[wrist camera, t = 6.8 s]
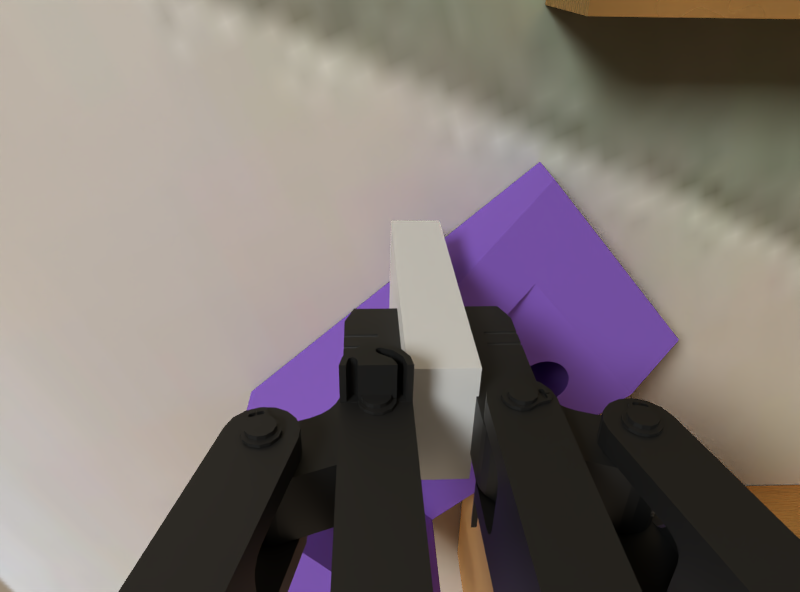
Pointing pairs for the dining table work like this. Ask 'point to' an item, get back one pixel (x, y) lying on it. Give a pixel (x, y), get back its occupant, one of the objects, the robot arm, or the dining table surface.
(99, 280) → the dining table surface
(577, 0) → the u-shaped frame
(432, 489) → the bracket
